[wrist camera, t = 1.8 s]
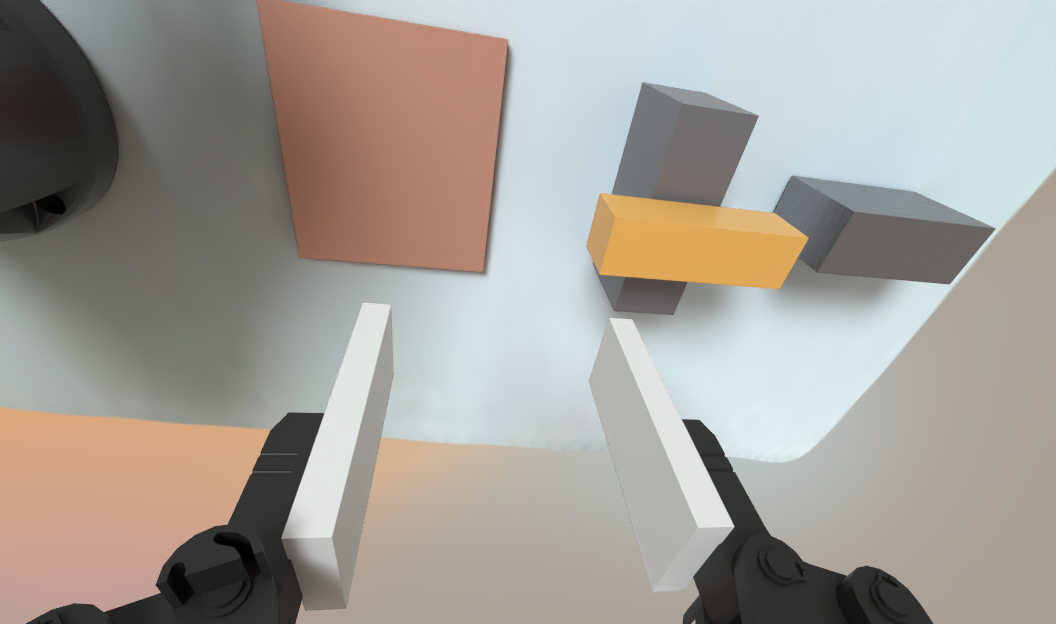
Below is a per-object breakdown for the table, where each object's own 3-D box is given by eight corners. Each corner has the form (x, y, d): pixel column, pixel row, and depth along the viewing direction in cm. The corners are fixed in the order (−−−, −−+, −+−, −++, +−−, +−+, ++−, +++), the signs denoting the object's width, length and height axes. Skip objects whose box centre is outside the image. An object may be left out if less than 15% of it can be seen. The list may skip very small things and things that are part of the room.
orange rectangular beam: (586, 245, 24) (599, 274, 21) (600, 193, 22) (615, 217, 20) (750, 261, 26) (779, 288, 23) (774, 213, 24) (809, 237, 22)
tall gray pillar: (592, 263, 32) (614, 310, 27) (642, 82, 25) (682, 103, 21) (643, 267, 33) (673, 314, 28) (705, 93, 26) (758, 116, 21)
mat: (302, 253, 29) (299, 257, 29) (260, -4, 21) (256, -4, 21) (482, 267, 31) (482, 271, 31) (507, 39, 23) (507, 40, 23)
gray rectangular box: (764, 229, 32) (816, 272, 27) (791, 175, 30) (854, 211, 25) (880, 242, 34) (949, 284, 29) (915, 192, 31) (996, 228, 26)
